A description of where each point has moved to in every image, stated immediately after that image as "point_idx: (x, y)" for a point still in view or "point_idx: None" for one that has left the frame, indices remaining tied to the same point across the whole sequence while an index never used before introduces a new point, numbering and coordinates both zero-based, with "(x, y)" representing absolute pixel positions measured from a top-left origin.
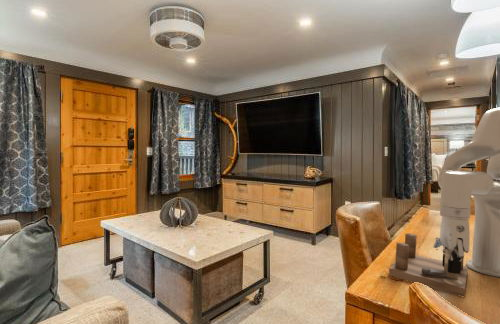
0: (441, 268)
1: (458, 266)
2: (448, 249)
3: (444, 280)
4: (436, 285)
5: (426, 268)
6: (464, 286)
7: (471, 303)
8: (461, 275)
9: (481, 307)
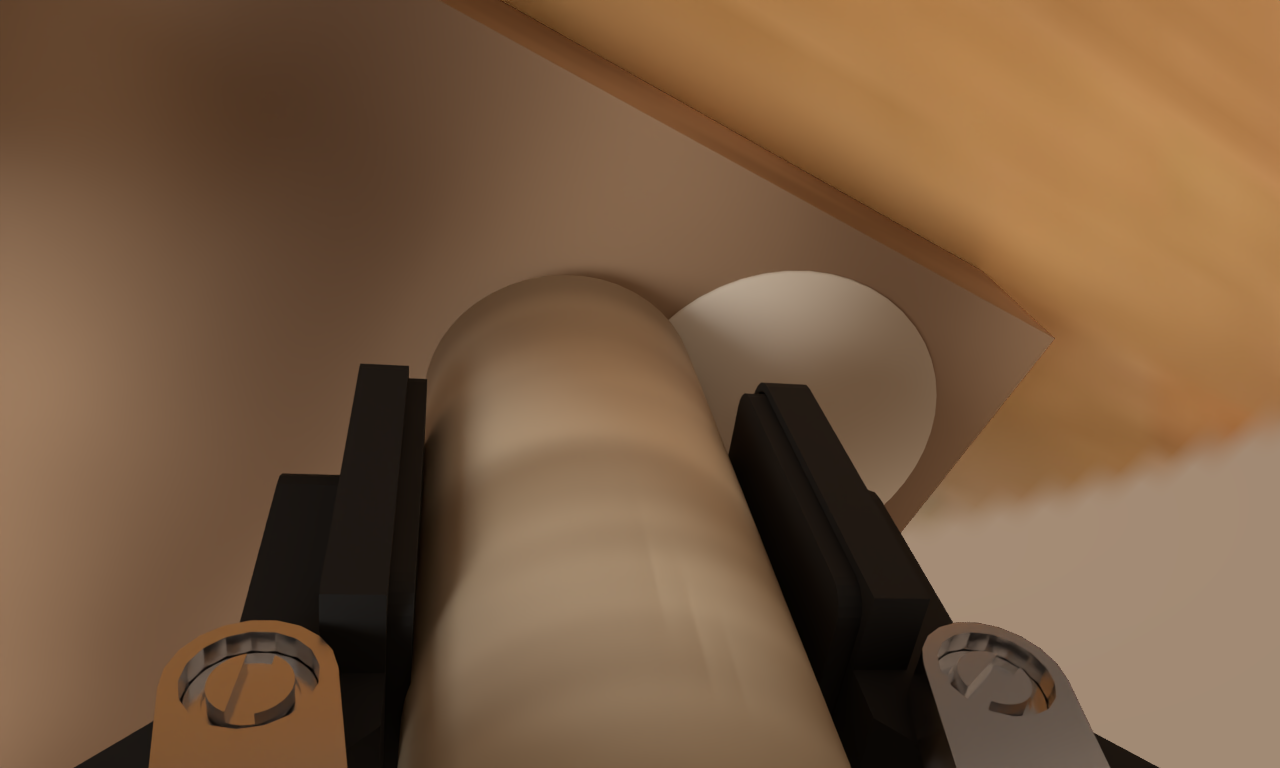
0: (45, 388)
1: (922, 573)
2: None
3: None
4: None
5: None
6: (964, 300)
7: (1159, 251)
8: (362, 82)
9: (1275, 159)
